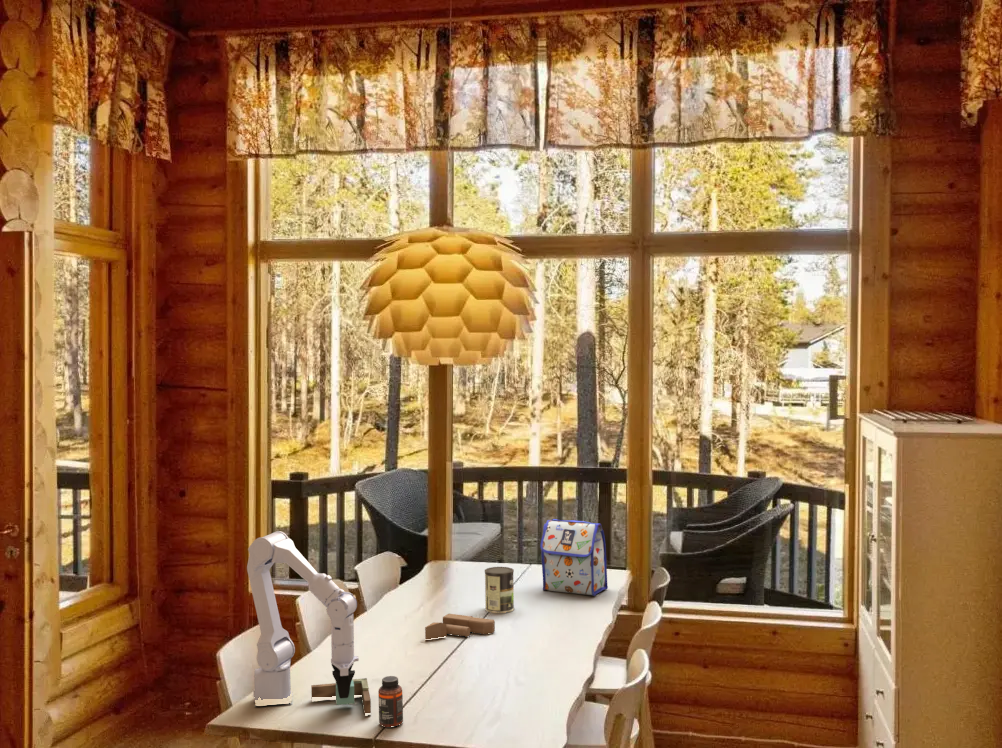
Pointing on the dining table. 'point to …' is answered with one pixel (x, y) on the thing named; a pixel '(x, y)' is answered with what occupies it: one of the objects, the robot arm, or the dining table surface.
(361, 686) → the corner arena
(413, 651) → the dining table surface
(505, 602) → the coffee can
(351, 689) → the teal cube
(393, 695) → the supplement bottle
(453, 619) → the wooden block set
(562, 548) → the lunch bag
